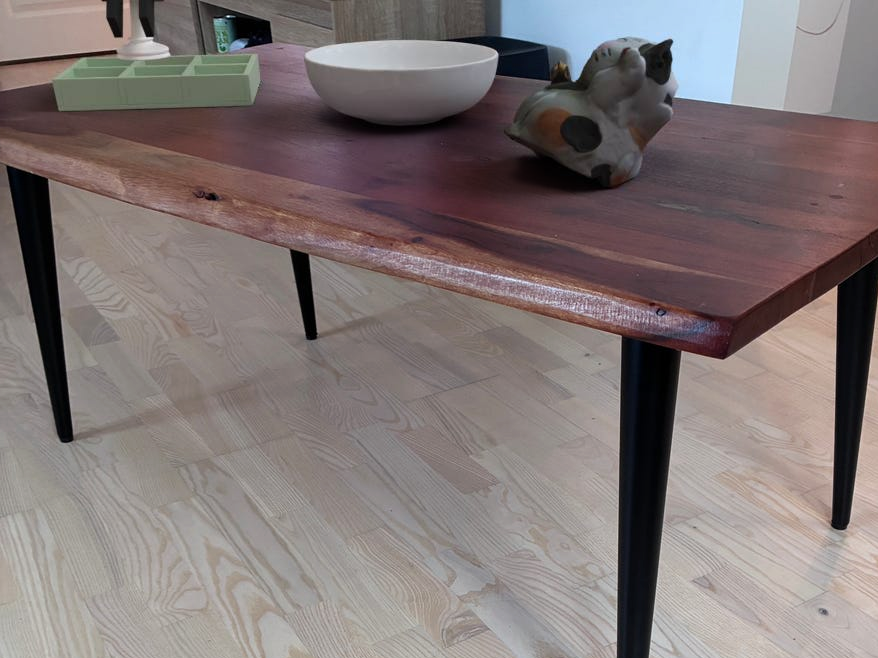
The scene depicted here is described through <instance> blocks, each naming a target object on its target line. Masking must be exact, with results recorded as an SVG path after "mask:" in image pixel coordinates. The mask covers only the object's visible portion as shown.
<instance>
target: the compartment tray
mask: <svg viewBox="0 0 878 658" xmlns="http://www.w3.org/2000/svg"><path fill="white" fill-rule="evenodd" d="M260 81H261V74H260V65H259V57H258V53H240V54H239V53H235V54H234V53H232V54H231V53H230V54H229V53H228V54H189V55H186V54H185V55H170V56H169V57H167V58H163V59H157V60H144V61H130V60H122V59H118V58H117V56H101V57H99V56H98V57H81V58H79V59H78V60H77V61H75V62H74V63H73V64H71V65H69V67H67V68H65V69H64V70H62V72H60V73H59V74H57V75H56V76H55V77H53V78H51V82H52V83H51V84H52V87H53V93H54V95H55V100H56V105H57V109H58V112H81V111H82V112H83V111H84V112H86V111H116V110H117V111H118V110H119V111H120V110H149V109H150V110H151V109H152V110H153V109H155V110H156V109H185V108H189V109H190V108H215V107H216V108H218V107H219V108H220V107H251V106H252V107H253V104H254V102H255V99H256V96H257V93H258V90H259V88H260V85H261V82H260ZM259 84H260V85H259ZM258 87H259V88H258Z"/></svg>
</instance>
